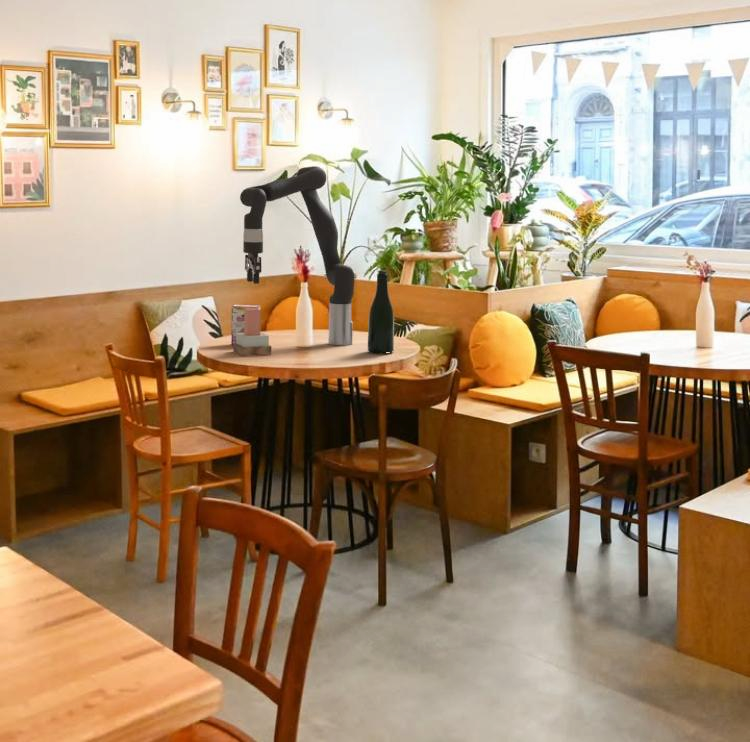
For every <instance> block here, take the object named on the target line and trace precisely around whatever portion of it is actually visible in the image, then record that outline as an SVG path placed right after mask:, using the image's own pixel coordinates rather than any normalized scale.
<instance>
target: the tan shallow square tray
mask: <svg viewBox="0 0 750 742" xmlns="http://www.w3.org/2000/svg"><path fill="white" fill-rule="evenodd" d="M232 346H233V347H232V349H233V350H232V351H234V353H235V352H236V353H235V354H237V353H238V354H239V356H240V355H241V356H240V357H254V356H255V355H256V356H257V355H259V356H260V355H261V356H272V347H273V346H272V345H270V344H269V346H257V347H243V346H241V345H239V344H237V343H233V345H232ZM238 354H237V355H238ZM250 355H251V356H250ZM253 355H254V356H253ZM256 356H255V357H256ZM257 357H258V356H257Z"/></svg>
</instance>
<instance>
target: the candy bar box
mask: <svg viewBox="0 0 750 742" xmlns="http://www.w3.org/2000/svg"><path fill="white" fill-rule="evenodd" d="M261 307H262V306H261V305H251V304H250V305H249V304H246V305H245V304H233V305H232V306H231V343H230V344H231V346H233V343H236V333H244V309H248V308H257V309H260V310H261Z"/></svg>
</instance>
